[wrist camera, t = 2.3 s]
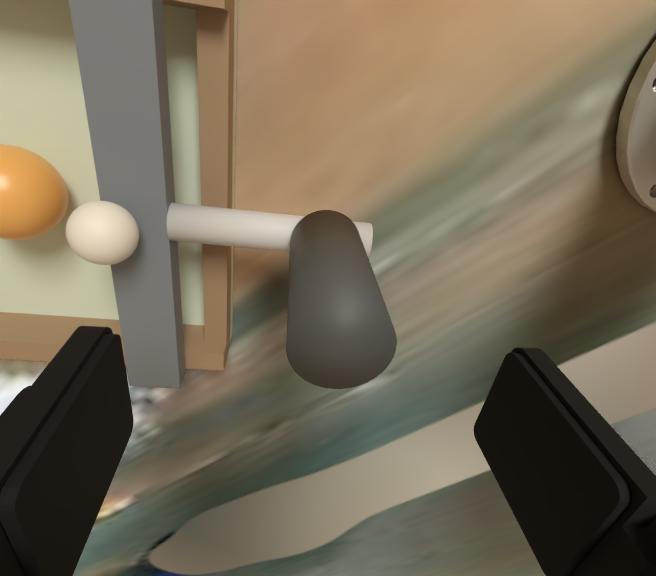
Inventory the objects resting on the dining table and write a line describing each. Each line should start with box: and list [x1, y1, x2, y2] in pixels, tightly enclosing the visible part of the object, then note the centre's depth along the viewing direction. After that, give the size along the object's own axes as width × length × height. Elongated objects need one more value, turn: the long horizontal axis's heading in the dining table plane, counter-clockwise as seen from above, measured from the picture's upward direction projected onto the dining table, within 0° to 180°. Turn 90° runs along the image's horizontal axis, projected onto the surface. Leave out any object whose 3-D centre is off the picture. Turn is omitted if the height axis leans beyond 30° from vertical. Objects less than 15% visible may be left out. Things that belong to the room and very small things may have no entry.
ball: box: [0, 144, 68, 240], centre depth 17 cm, size 4×4×4 cm
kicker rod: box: [66, 0, 397, 389], centre depth 15 cm, size 12×18×11 cm, turn 172°
